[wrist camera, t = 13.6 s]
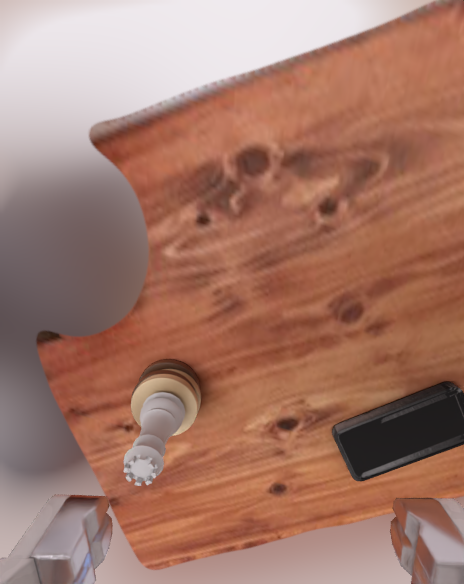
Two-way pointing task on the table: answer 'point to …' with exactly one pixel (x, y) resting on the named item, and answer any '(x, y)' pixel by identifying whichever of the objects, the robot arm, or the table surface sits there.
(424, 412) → the phone
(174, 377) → the chip pile
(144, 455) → the rook chess piece
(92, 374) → the table surface
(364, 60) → the table surface
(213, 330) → the table surface
